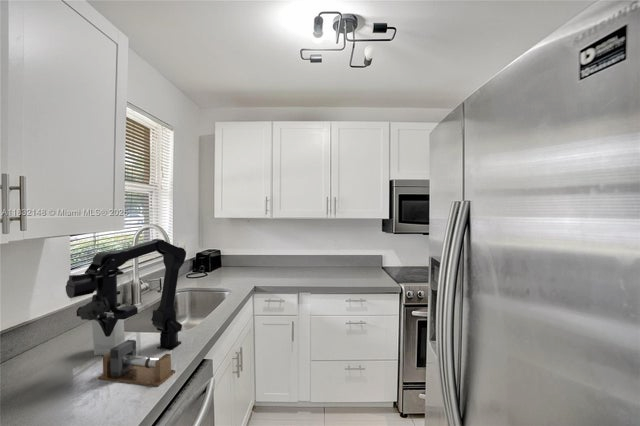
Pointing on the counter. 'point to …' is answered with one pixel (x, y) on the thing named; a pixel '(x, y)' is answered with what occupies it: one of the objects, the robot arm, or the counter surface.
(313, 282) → the counter surface
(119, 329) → the skincare box
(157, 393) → the counter surface
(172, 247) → the robot arm
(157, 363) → the pipe rig
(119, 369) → the collar
